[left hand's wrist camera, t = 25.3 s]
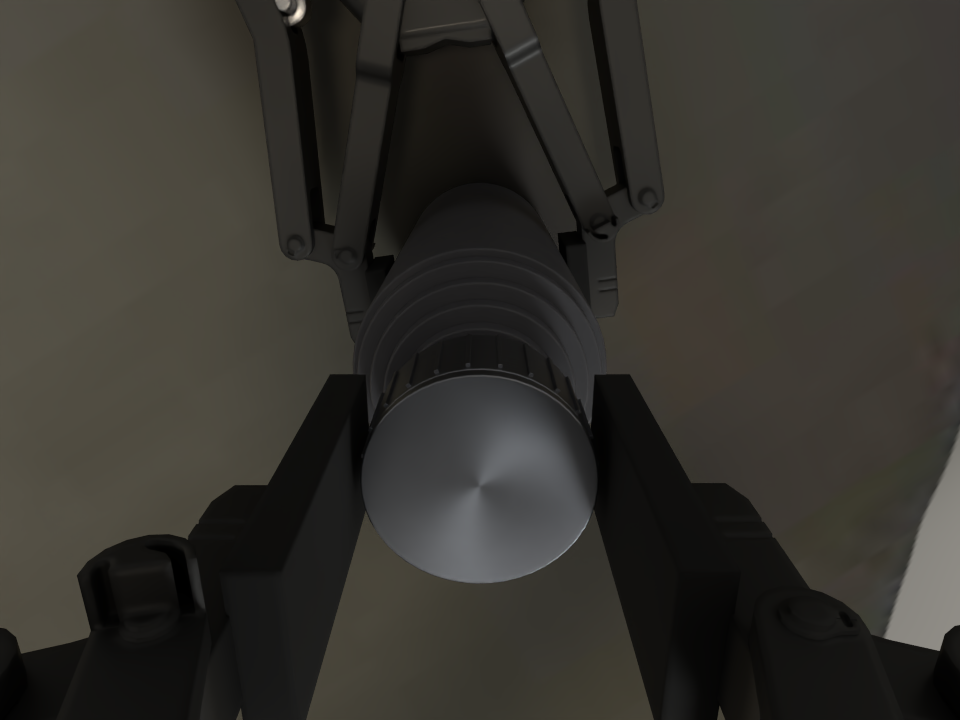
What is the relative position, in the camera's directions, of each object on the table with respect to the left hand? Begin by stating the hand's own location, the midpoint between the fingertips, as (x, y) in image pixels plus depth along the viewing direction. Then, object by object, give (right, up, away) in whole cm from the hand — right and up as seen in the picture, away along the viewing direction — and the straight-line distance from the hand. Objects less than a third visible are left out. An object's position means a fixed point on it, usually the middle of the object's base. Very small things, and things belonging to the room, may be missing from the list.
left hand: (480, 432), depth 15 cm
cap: (0, -1, -2) cm, 2 cm away
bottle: (0, +7, +18) cm, 19 cm away
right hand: (+1, 0, +14) cm, 14 cm away
